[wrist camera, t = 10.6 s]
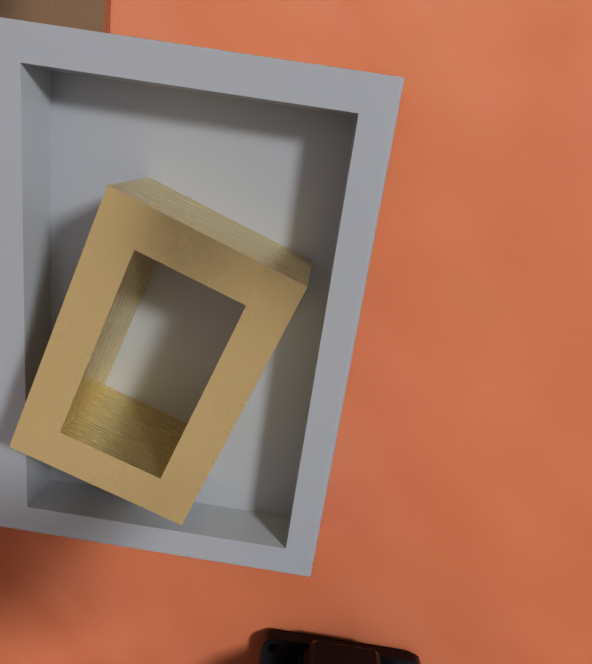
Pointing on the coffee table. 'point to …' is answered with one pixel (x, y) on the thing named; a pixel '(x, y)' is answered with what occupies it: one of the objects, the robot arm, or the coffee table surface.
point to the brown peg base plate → (60, 13)
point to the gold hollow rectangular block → (112, 326)
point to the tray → (178, 289)
